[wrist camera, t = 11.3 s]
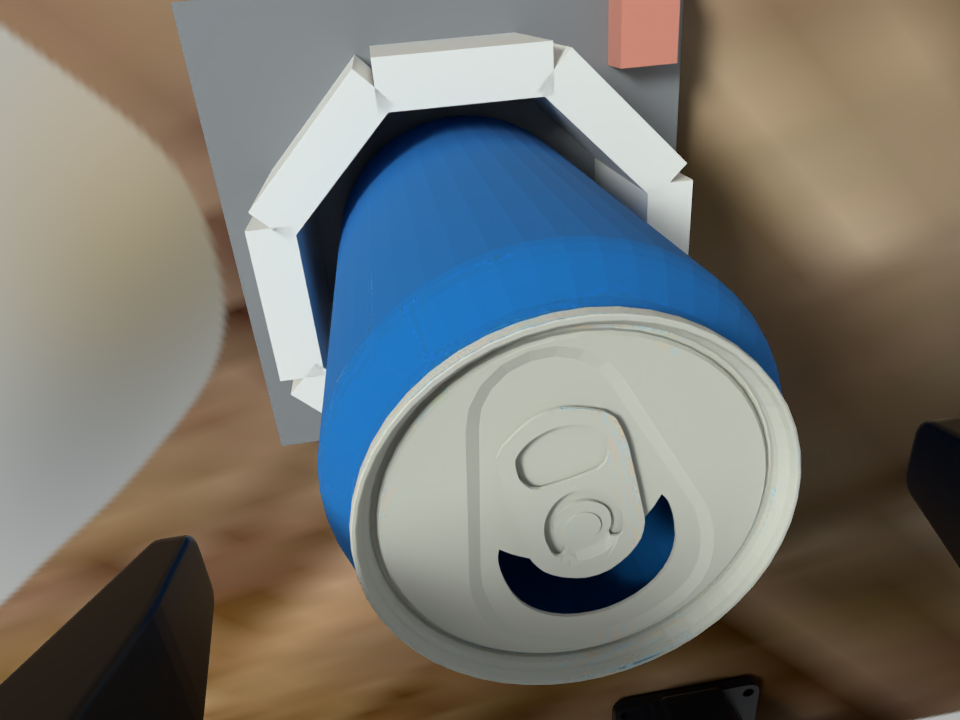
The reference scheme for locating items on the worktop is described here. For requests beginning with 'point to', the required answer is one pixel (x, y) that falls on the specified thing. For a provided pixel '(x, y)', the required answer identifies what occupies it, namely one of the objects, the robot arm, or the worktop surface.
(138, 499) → the worktop surface
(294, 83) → the socket
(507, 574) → the beverage can
